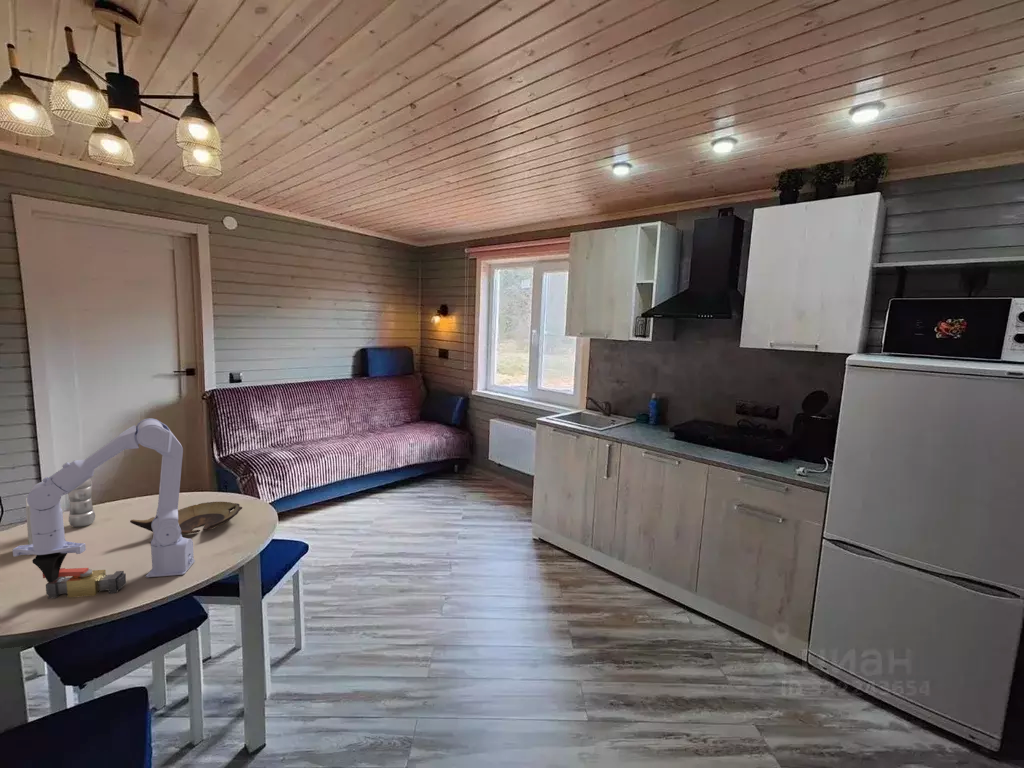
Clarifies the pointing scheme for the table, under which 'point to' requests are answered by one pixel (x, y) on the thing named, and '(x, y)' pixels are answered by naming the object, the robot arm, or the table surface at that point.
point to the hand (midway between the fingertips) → (52, 580)
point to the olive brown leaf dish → (199, 516)
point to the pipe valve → (86, 584)
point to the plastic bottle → (81, 505)
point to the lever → (74, 572)
